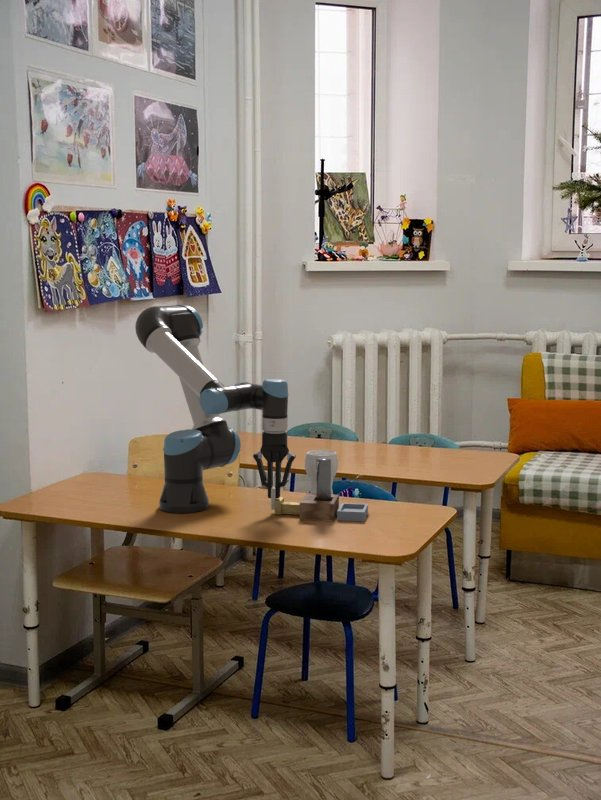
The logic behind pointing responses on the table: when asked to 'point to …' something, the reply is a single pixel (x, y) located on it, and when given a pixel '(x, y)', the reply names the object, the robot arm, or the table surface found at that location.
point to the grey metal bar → (323, 479)
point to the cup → (311, 466)
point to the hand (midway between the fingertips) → (273, 508)
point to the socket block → (318, 508)
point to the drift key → (286, 507)
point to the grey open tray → (352, 512)
